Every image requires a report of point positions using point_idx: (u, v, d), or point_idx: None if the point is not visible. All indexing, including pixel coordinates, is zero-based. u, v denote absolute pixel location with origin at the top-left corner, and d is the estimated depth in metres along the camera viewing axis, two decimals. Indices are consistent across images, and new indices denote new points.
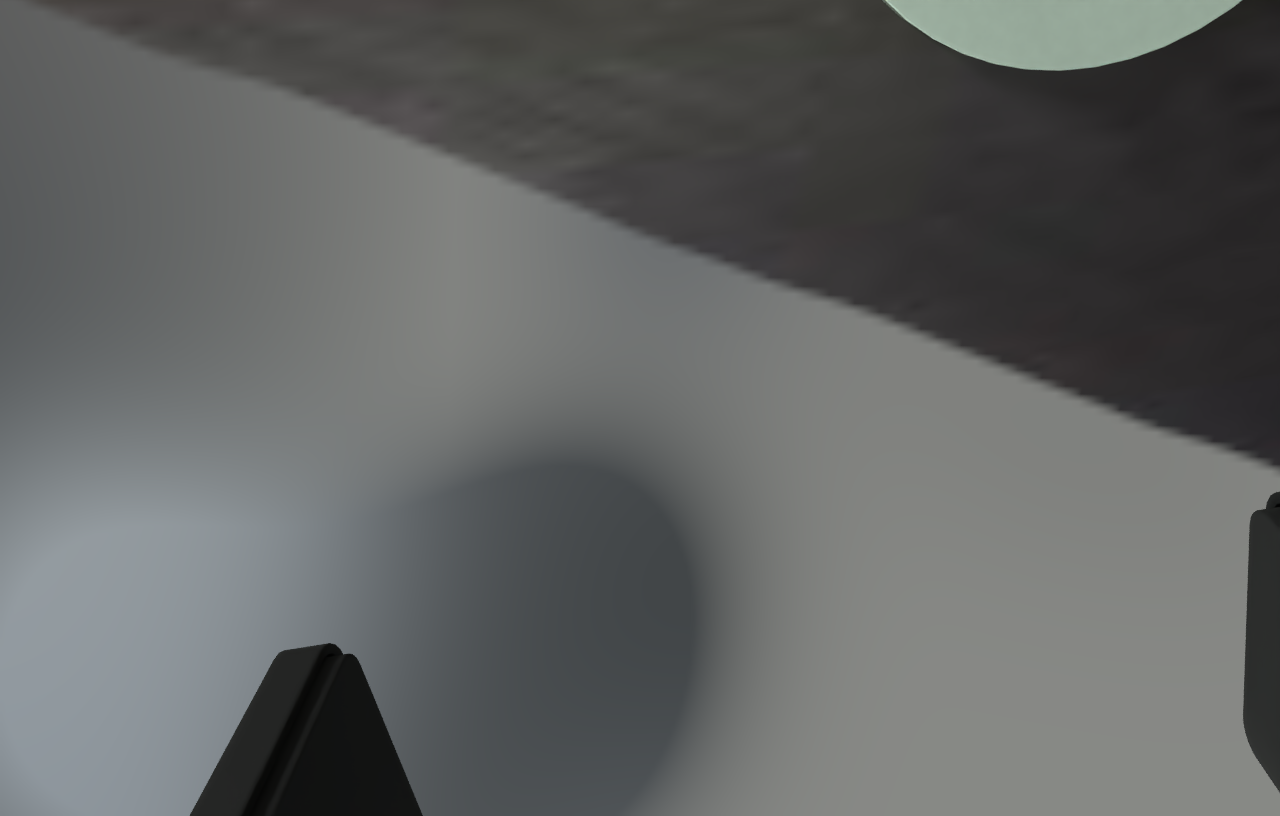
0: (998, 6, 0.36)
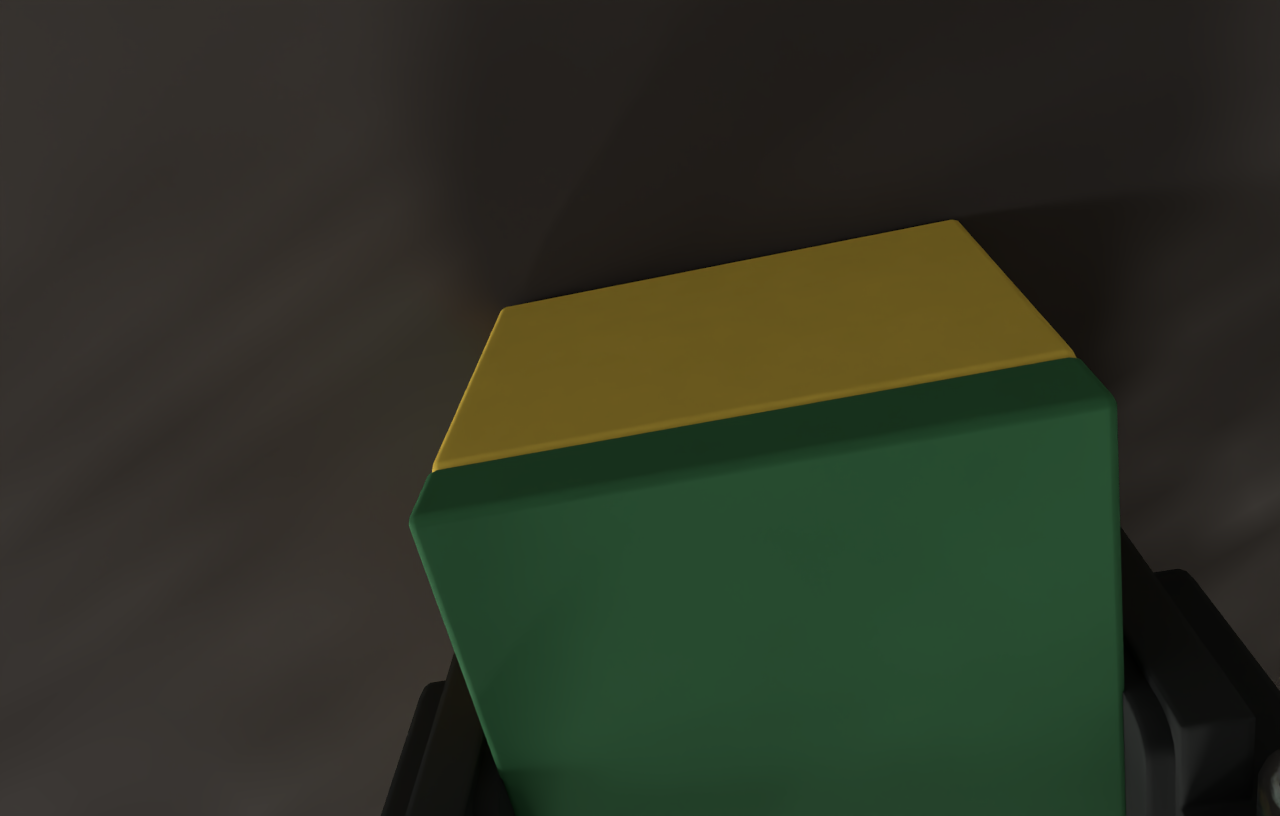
0: None
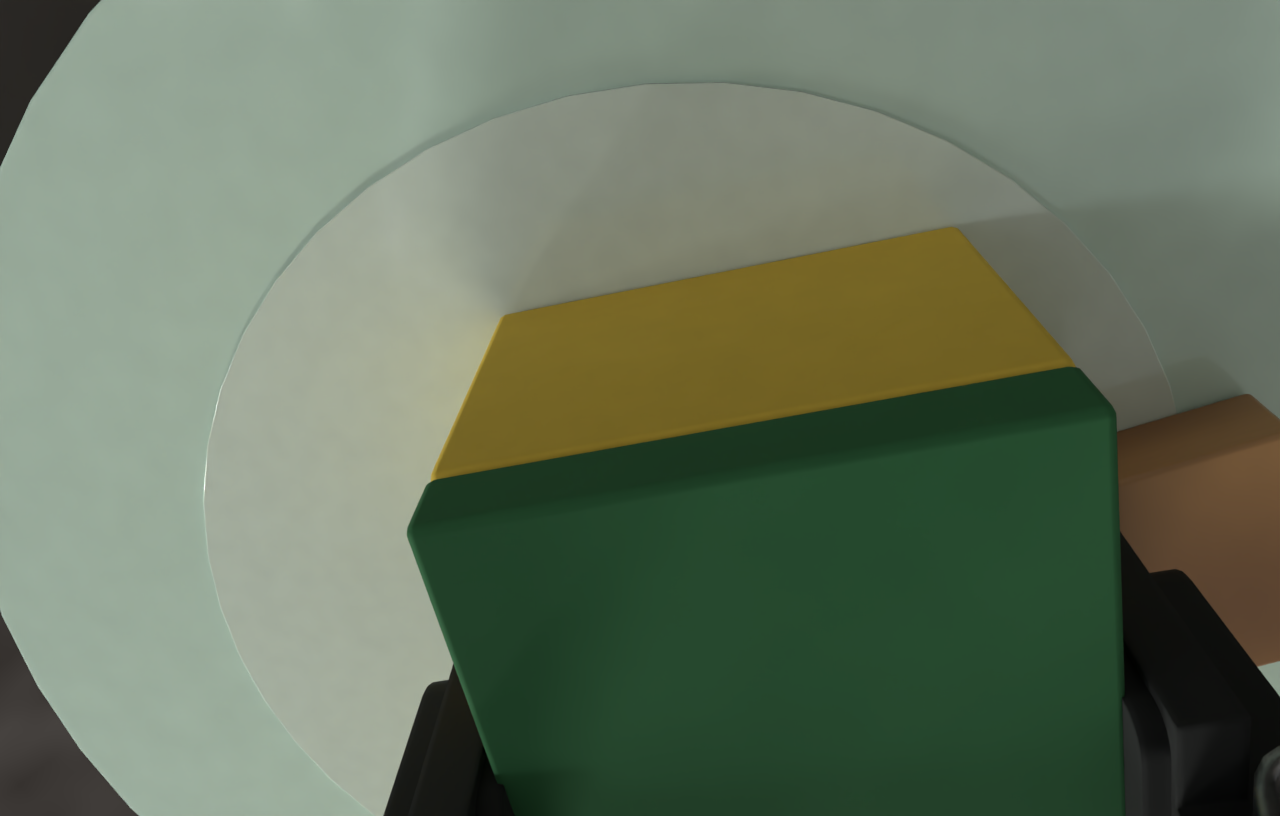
0: None
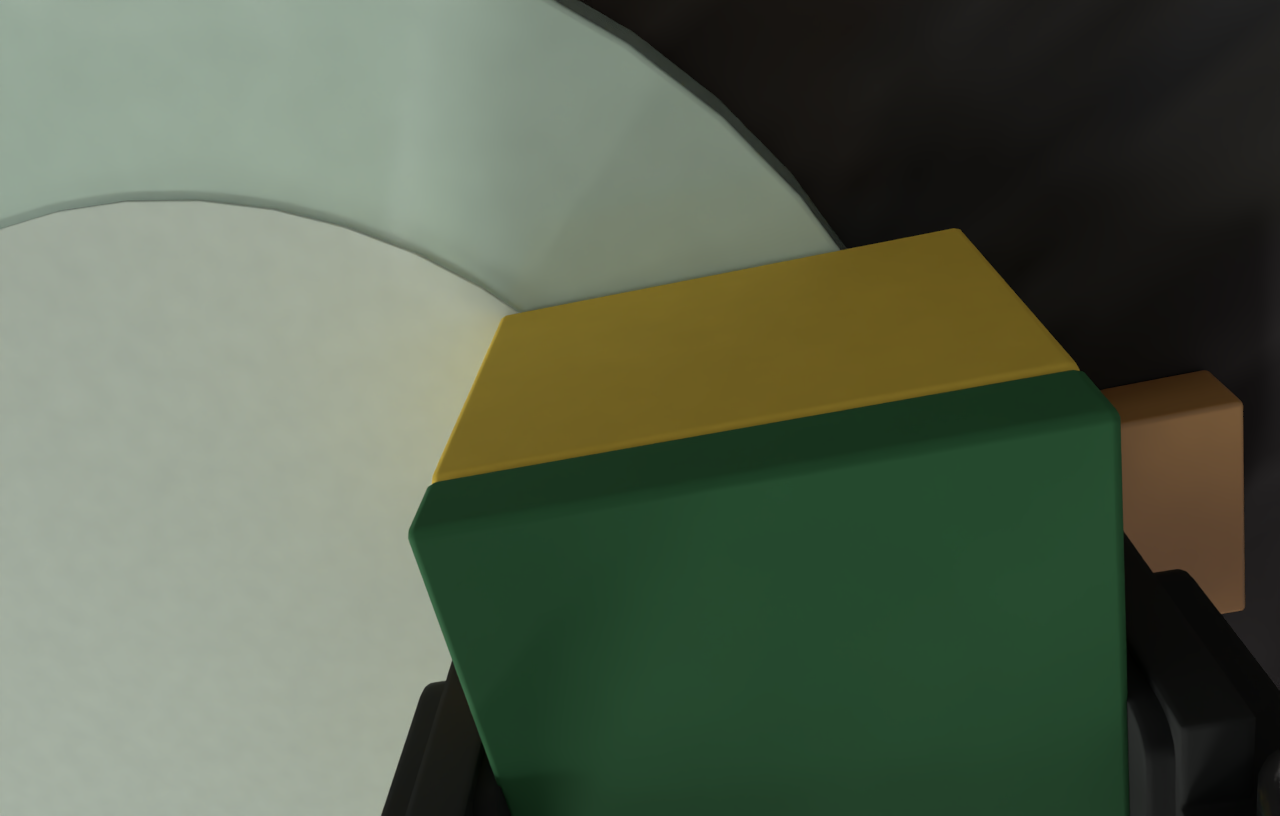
0: None
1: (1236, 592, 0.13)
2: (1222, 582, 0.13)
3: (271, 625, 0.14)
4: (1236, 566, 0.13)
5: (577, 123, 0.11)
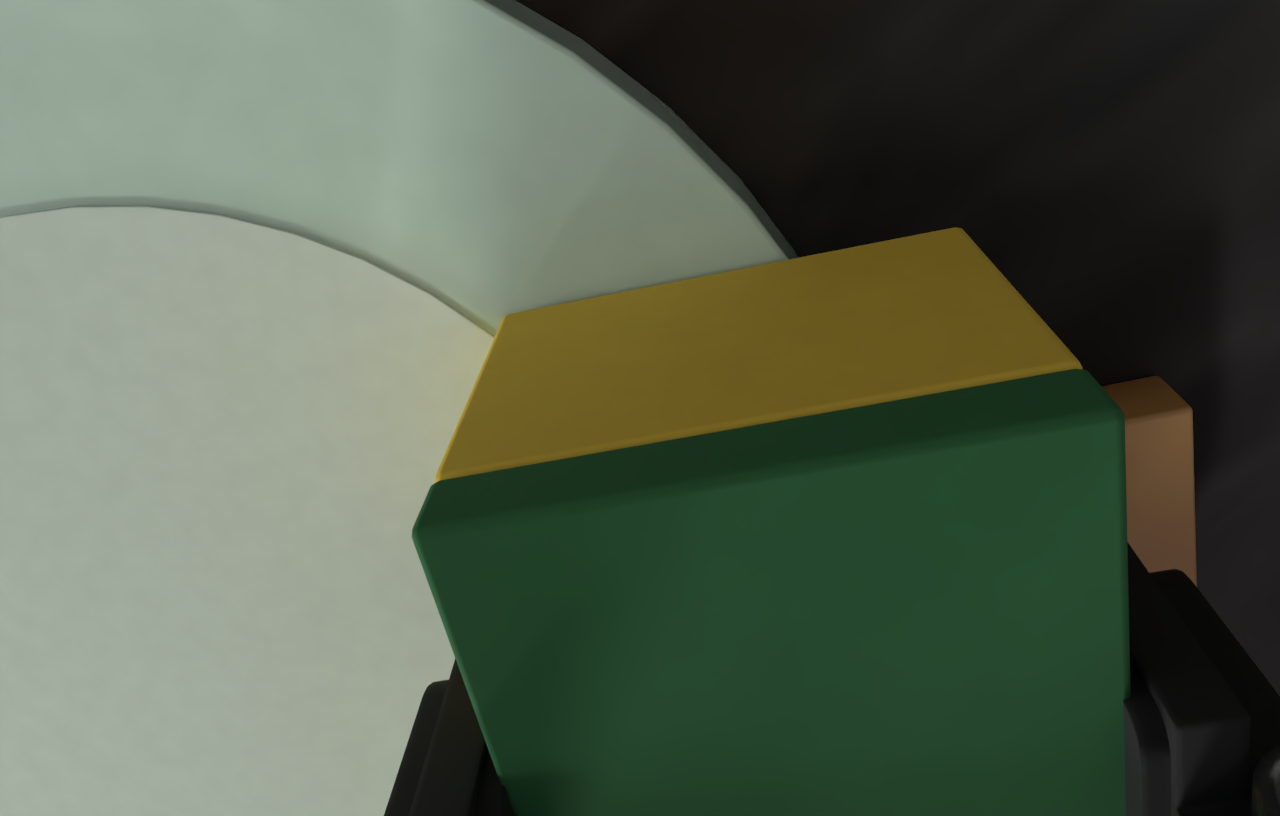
0: None
1: None
2: None
3: (226, 629, 0.14)
4: (1188, 570, 0.13)
5: (523, 131, 0.11)
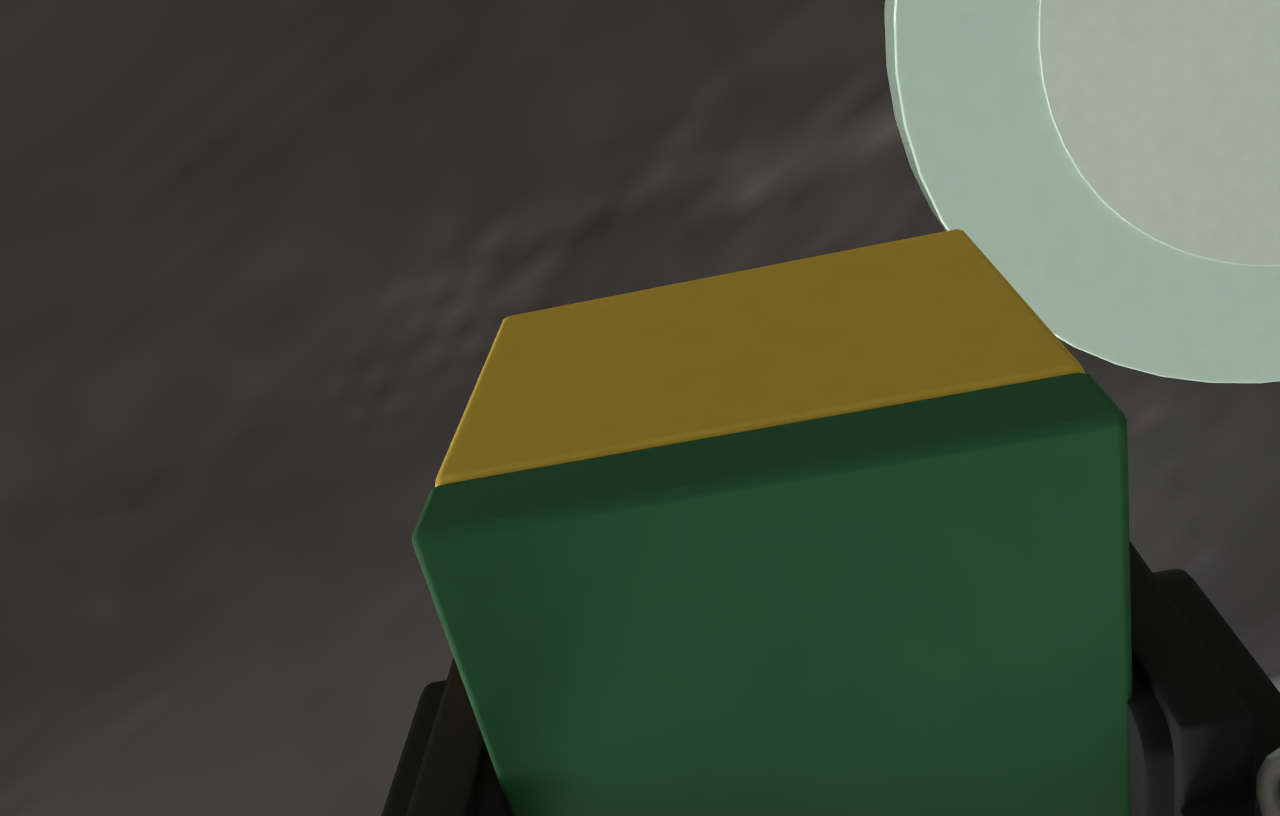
0: None
1: None
2: None
3: None
4: None
5: None
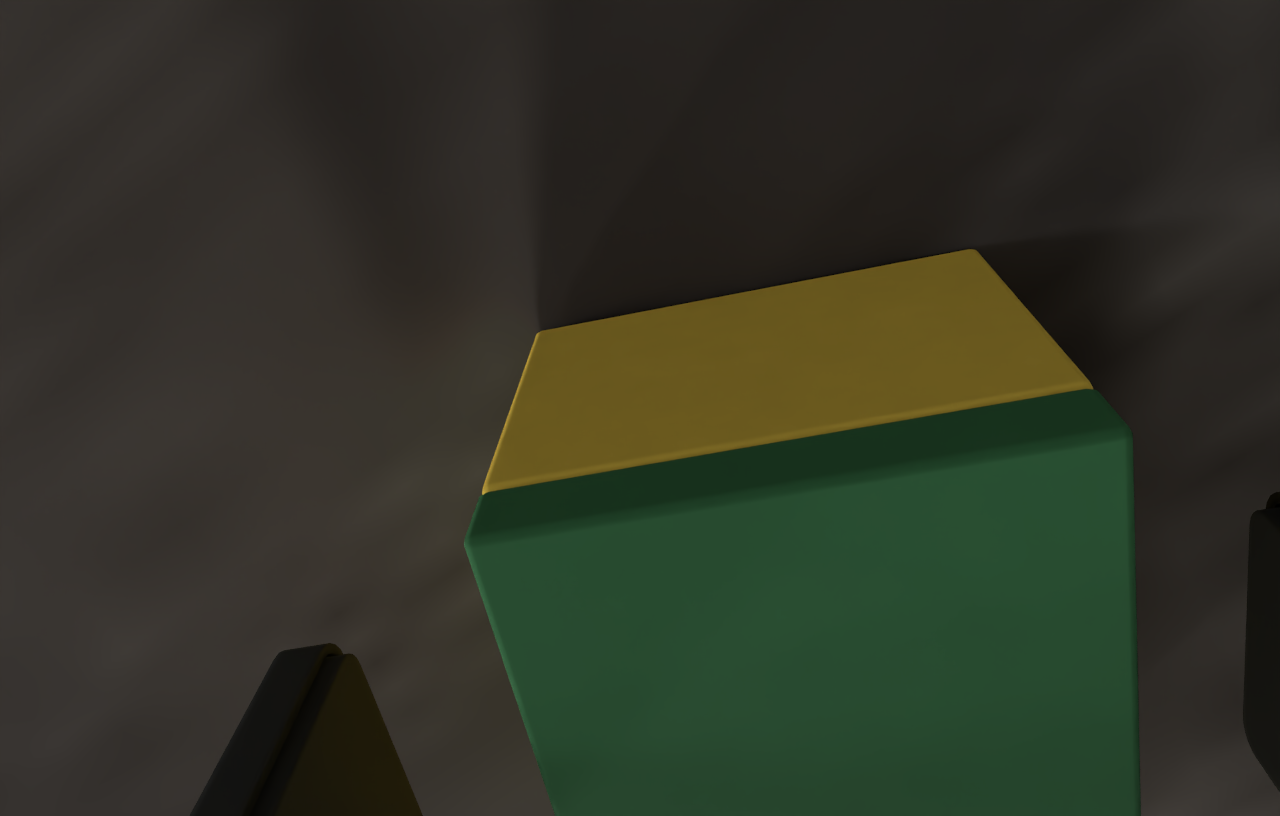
0: None
1: None
2: None
3: None
4: None
5: None
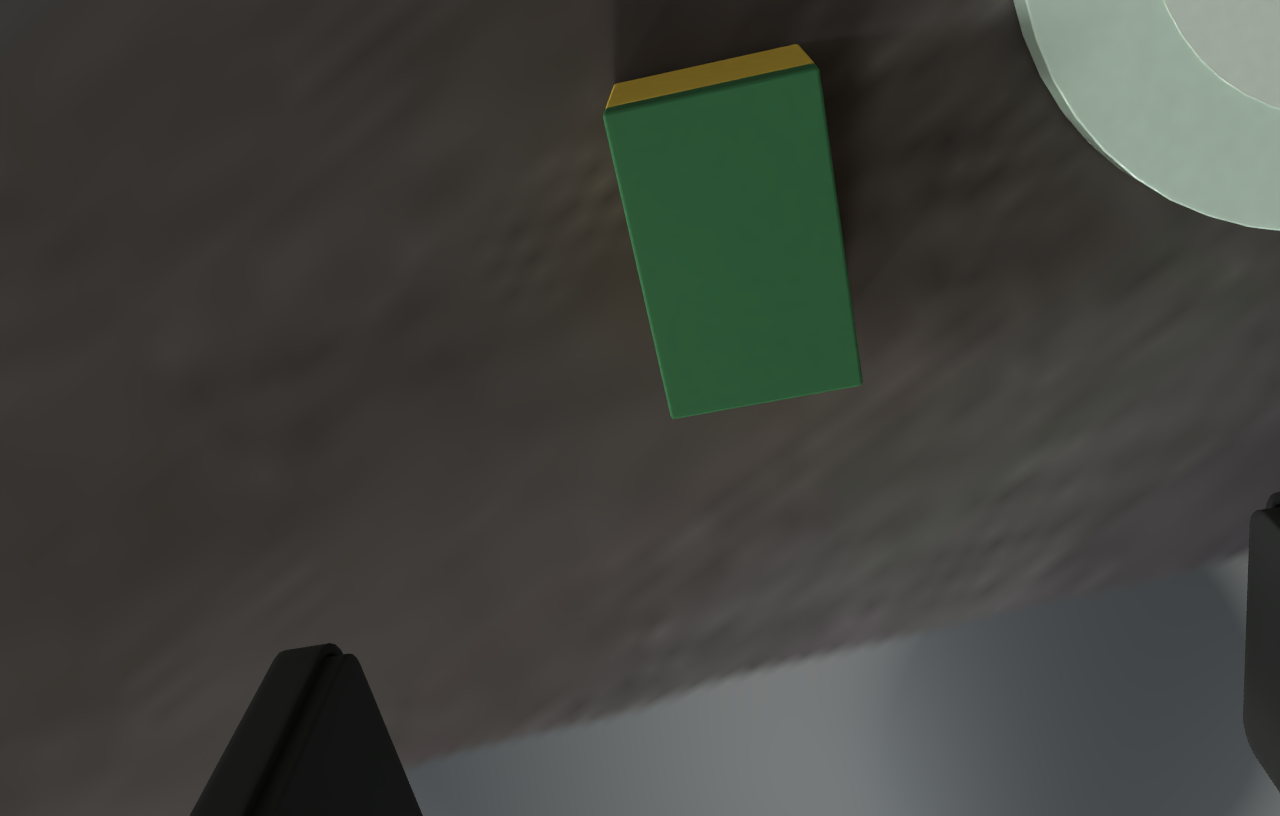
0: None
1: None
2: None
3: None
4: None
5: None
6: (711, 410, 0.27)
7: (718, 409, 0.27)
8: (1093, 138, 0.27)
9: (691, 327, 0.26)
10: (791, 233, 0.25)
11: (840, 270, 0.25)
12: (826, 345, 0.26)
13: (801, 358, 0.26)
